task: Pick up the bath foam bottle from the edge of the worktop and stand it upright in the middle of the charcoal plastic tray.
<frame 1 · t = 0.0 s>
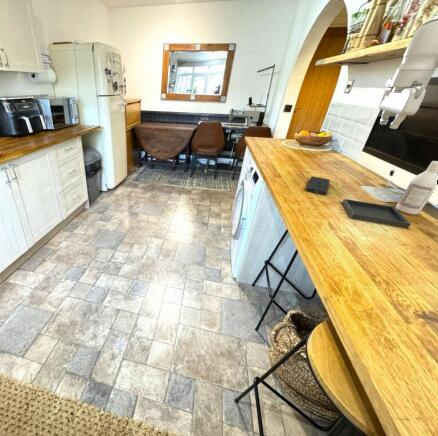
hand: (387, 126, 84), 31 cm above the counter, tool pointing down, fingers open, 8 cm apart
bath foam: (406, 211, 96), on the counter
tray: (371, 214, 93), on the counter
smart home device: (317, 186, 117), on the counter
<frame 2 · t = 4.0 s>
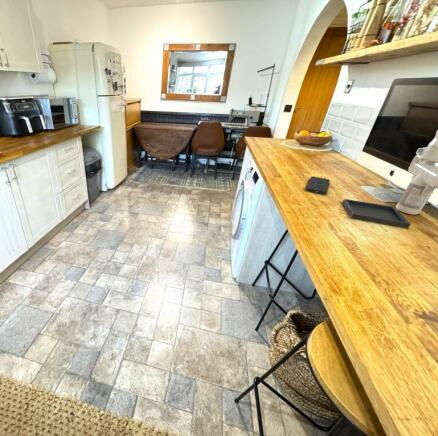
hand: (417, 191, 92), 9 cm above the counter, tool pointing down, fingers closed on bath foam, 7 cm apart
bath foam: (406, 211, 96), on the counter, touching arm, gripper
everything else where it was.
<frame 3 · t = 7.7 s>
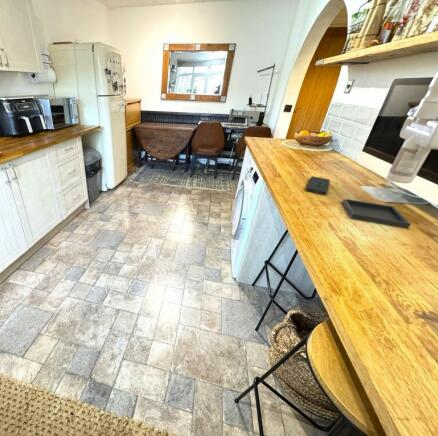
hand: (409, 156, 82), 23 cm above the counter, tool pointing down, fingers closed on bath foam, 7 cm apart
bath foam: (398, 180, 86), point 14 cm above the counter, touching arm, gripper
everything else where it was.
when the fingers open (9 cm above the counter, at t = 11.3 s): bath foam stays where it is, resting on tray.
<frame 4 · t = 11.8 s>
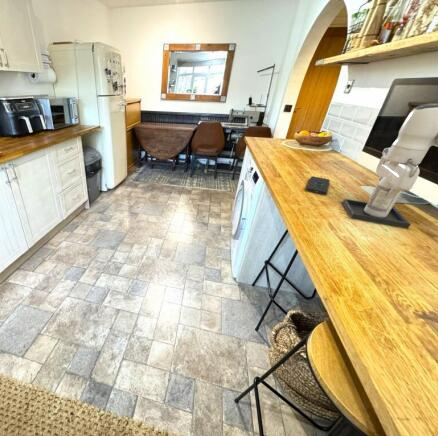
hand: (383, 192, 88), 9 cm above the counter, tool pointing down, fingers open, 8 cm apart
bath foam: (374, 214, 92), resting on tray
everything else where it was.
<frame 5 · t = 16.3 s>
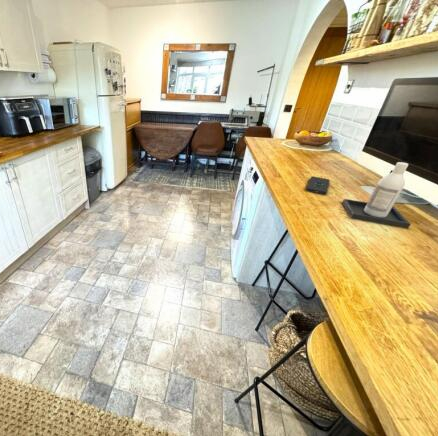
nothing on the counter moved.
at the end: bath foam inside the target area in the tray (0.6 cm from its centre), point 0.3 cm above the tray's base; bath foam tilted 0°; the gripper is holding nothing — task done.
